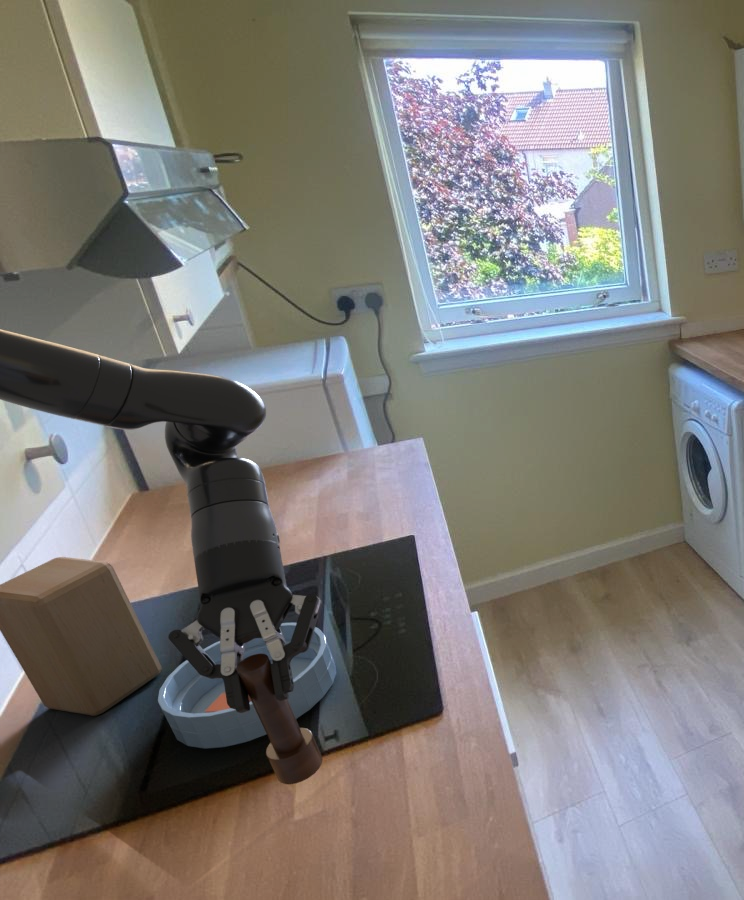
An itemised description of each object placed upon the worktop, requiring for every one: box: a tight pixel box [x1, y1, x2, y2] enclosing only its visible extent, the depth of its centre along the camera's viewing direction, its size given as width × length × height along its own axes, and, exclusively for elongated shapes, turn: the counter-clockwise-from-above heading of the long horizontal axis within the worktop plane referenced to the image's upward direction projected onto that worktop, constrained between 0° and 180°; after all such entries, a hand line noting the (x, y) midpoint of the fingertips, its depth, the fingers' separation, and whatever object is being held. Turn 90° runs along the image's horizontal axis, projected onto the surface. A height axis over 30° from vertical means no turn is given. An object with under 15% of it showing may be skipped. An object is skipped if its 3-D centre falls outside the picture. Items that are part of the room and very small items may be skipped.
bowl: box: [157, 621, 338, 749], centre depth 104 cm, size 19×19×6 cm
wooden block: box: [0, 556, 163, 717], centre depth 103 cm, size 10×10×20 cm
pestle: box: [236, 654, 323, 785], centre depth 80 cm, size 4×4×16 cm
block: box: [205, 693, 251, 713], centre depth 100 cm, size 4×4×4 cm
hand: (263, 704), depth 76 cm, fingers closed on pestle, 3 cm apart
